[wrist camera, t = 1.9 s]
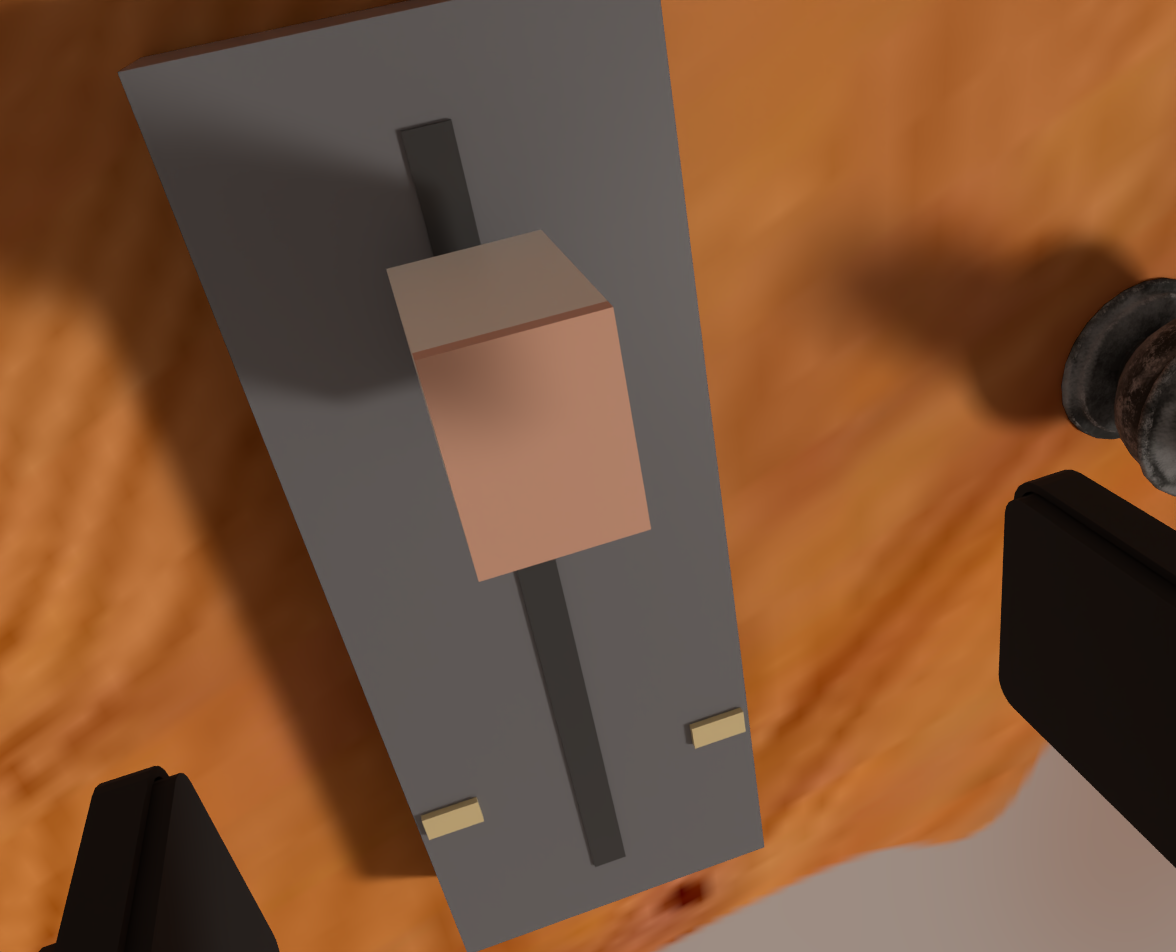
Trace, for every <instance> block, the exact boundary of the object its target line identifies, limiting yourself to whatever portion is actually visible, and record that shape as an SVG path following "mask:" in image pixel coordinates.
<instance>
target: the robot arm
mask: <svg viewBox="0 0 1176 952" xmlns="http://www.w3.org/2000/svg"><path fill="white" fill-rule="evenodd" d="M999 682H1000V685H1001V689H1002V691H1003V693H1004V695H1005V697H1006V699H1007V700H1008V702H1009V703H1010V704H1011V706H1012V707H1013V708H1014V709H1015V710H1016V711H1017V712H1018V713H1019V714H1020V715H1021V716H1022V717H1023V718H1024V719H1025V720H1026V721H1027V722H1028V723H1029V724H1030V725H1031V726H1032V727H1033V728H1034V729H1035V730H1036V731H1037V732H1038V733H1039V734H1040V735H1041V736H1042V737H1043V738H1044V739H1045V740H1047V741H1048V742H1049V743H1050V744H1051V745H1052V746H1053V747H1054V748H1055V749H1056V750H1057V751H1058V752H1059V753H1060V754H1061V755H1062V756H1063V757H1064V758H1065V759H1066V760H1067V761H1068V762H1069V763H1070V764H1071V765H1072V766H1073V767H1074V768H1075V769H1076V770H1077V771H1078V772H1079V773H1080V774H1081V775H1082V776H1083V777H1084V778H1085V779H1086V780H1087V781H1088V782H1089V783H1090V784H1091V785H1092V786H1093V787H1094V788H1095V789H1096V790H1097V791H1099V793H1100V794H1101V795H1102V796H1103V797H1104V798H1105V799H1106V800H1107V801H1108V802H1109V803H1111V805H1113V806H1114V807H1115V808H1116V809H1117V810H1118V811H1119V812H1120V813H1121V814H1122V815H1123V816H1124V817H1125V818H1126V819H1127V820H1128V821H1129V822H1130V823H1131V824H1132V825H1133V826H1134V827H1135V828H1136V829H1137V830H1138V831H1139V832H1140V833H1141V834H1142V835H1143V836H1144V837H1145V838H1146V839H1147V840H1148V841H1149V842H1150V843H1151V844H1152V845H1153V846H1154V847H1155V848H1156V849H1157V850H1158V851H1159V852H1160V853H1161V854H1162V855H1163V856H1164V857H1165V858H1166V859H1167V860H1168V861H1170V863H1171V864H1172V865H1173V866H1174V867H1175V868H1176V531H1175V530H1174V529H1172V528H1170V527H1169V526H1167V525H1165V524H1164V523H1162V522H1160V521H1159V520H1157V519H1155V518H1154V517H1152V516H1150V515H1149V514H1147V513H1146V512H1144V511H1142V510H1141V509H1139V508H1137V507H1136V506H1134V505H1132V504H1131V503H1129V502H1127V501H1126V500H1124V499H1122V498H1121V497H1119V496H1117V495H1116V494H1114V493H1112V492H1111V491H1109V490H1108V489H1106V488H1104V487H1103V486H1101V485H1099V484H1098V483H1096V482H1094V481H1093V480H1091V479H1089V478H1088V477H1086V476H1084V475H1083V474H1081V473H1079V472H1076V471H1074V470H1063V471H1060V472H1057V473H1054V474H1050V475H1047V476H1044V477H1041V478H1038V479H1035V480H1032V481H1029V482H1026V483H1024V484H1022V485H1020V486H1019V487H1018V489H1017V490H1016V492H1015V496H1014V500H1012V501H1010V502H1009V503H1008V505H1007V506H1006V510H1005V524H1004V550H1003V577H1002V603H1001V629H1000V655H999ZM39 952H279V948H278V945H277V942H276V939H275V937H274V935H273V933H272V931H271V929H270V927H269V925H268V924H267V922H266V920H265V918H264V916H263V914H262V913H261V911H260V909H259V907H258V905H257V903H256V901H255V900H254V898H253V896H252V894H251V892H250V890H249V889H248V887H247V885H246V883H245V881H244V879H243V877H242V876H241V874H240V872H239V870H238V868H237V866H236V865H235V863H234V861H233V859H232V857H231V855H230V853H229V852H228V850H227V848H226V846H225V844H224V842H223V841H222V839H221V837H220V835H219V833H218V831H217V830H216V828H215V826H214V824H213V822H212V820H211V818H210V817H209V815H208V813H207V811H206V809H205V807H204V806H203V804H202V802H201V800H200V798H199V796H198V794H197V793H196V791H195V789H194V787H193V785H192V783H191V782H190V780H189V779H188V777H187V776H186V775H185V774H184V773H179V774H176V775H172V776H168V774H167V773H166V771H165V770H164V769H163V768H161V767H160V766H153V767H150V768H147V769H144V770H141V771H138V772H135V773H132V774H128V775H125V776H122V777H119V778H116V779H113V780H110V781H107V782H104V783H101V784H99V785H98V786H97V787H96V788H95V790H94V793H93V795H92V798H91V803H90V807H89V811H88V815H87V819H86V823H85V827H84V831H83V835H82V839H81V843H80V847H79V851H78V856H77V860H76V864H75V868H74V872H73V876H72V880H71V884H70V888H69V892H68V896H67V900H66V905H65V909H64V913H63V917H62V921H61V925H60V929H59V933H58V937H57V941H56V943H54V944H51V945H49V946H46V947H43V948H42V949H41V950H40V951H39Z"/></svg>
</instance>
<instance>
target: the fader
mask: <svg viewBox="0 0 1176 952" xmlns="http://www.w3.org/2000/svg"><path fill="white" fill-rule="evenodd" d="M386 270H387V274H388V277H389V280H390V284H391V287H392V291H393V294H394V298H395V301H396V304H397V308H398V311H399V315H400V318H401V321H402V325H403V328H404V332H405V335H406V339H407V342H408V345H409V349H410V352H411V356H412V359H413V363H414V366H415V369H416V373H417V376H418V380H419V383H420V386H421V390H422V393H423V397H424V400H425V404H426V407H427V410H428V414H429V417H430V421H431V424H432V428H433V431H434V434H435V438H436V441H437V445H438V448H439V451H440V455H441V458H442V461H443V465H444V468H445V471H446V475H447V478H448V481H449V485H450V488H451V491H452V495H453V498H454V501H455V505H456V508H457V511H458V514H459V518H460V521H461V524H462V528H463V531H464V534H465V538H466V541H467V544H468V548H469V551H470V554H471V558H472V561H473V564H474V567H475V571H476V574H477V577H478V581H479V582H481V581H484V580H487V579H490V578H494V577H497V576H500V575H504V574H507V573H510V572H513V571H517V570H520V569H523V568H526V567H530V566H533V565H536V564H539V563H543V562H546V561H549V560H553V559H556V558H559V557H562V556H566V555H569V554H572V553H575V552H579V551H582V550H585V549H589V548H592V547H595V546H598V545H602V544H605V543H608V542H611V541H615V540H618V539H621V538H624V537H628V536H631V535H634V534H638V533H641V532H644V531H647V530H651V525H650V519H649V513H648V508H647V502H646V496H645V490H644V484H643V478H642V472H641V466H640V461H639V455H638V449H637V443H636V437H635V431H634V425H633V420H632V414H631V408H630V402H629V396H628V390H627V384H626V378H625V373H624V367H623V361H622V355H621V349H620V343H619V337H618V332H617V326H616V320H615V314H614V308H613V306H612V305H611V304H610V303H609V302H608V301H607V300H606V299H605V298H604V296H603V295H602V294H601V293H600V292H599V291H598V290H597V289H596V288H595V287H594V286H593V285H592V284H591V283H590V281H589V280H588V279H587V278H586V277H585V276H584V275H583V274H582V273H581V272H580V271H579V270H578V269H577V268H576V266H575V265H574V264H573V263H572V262H571V261H570V260H569V259H568V258H567V257H566V256H565V255H564V254H563V253H562V251H561V250H560V249H559V248H558V247H557V246H556V245H555V244H554V243H553V242H552V241H551V240H550V239H549V237H548V236H547V235H546V234H545V233H544V232H543V231H542V230H538V231H534V232H530V233H526V234H522V235H518V236H514V237H510V238H506V239H502V240H498V241H494V242H490V243H486V244H483V245H479V246H475V247H471V248H467V249H463V250H459V251H455V252H451V253H447V254H443V255H439V256H435V257H431V258H427V259H423V260H420V261H416V262H412V263H408V264H404V265H400V266H396V267H392V268H388V269H386Z"/></svg>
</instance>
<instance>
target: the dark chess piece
mask: <svg viewBox="0 0 1176 952" xmlns="http://www.w3.org/2000/svg"><path fill="white" fill-rule="evenodd" d="M1062 399H1063V406H1064V408H1065V411H1066V413H1067V415H1068V418H1069V420H1070V421H1071V422H1072V423H1073V424H1074V425H1075V426H1076V427H1077V428H1078V429H1079V430H1080V431H1082V432H1084V433H1086V434H1088V435H1090V436H1093V437H1095V438H1102V439H1117V438H1121V440H1122V441H1123V443H1124V445H1125V446H1126V448H1127V449H1128V451H1129V453H1130V454H1131V455H1132V457H1133V458H1134V459H1135V460H1136V461H1137V462H1138V463H1139V464H1140V466H1141V469H1142V472H1143V475H1144V476H1145V477H1146V478H1147V479H1148V480H1149V481H1150V482H1151V483H1152V485H1153V486H1154V487H1155V488H1157V489H1158V490H1161V491H1163V492H1165V493H1168V494H1170V495H1172V496H1176V280H1174V279H1167V278H1162V279H1156V280H1150V281H1145V282H1142V283H1140V284H1138V285H1136V286H1133V287H1131V288H1129V289H1127V290H1124V291H1123V292H1122V293H1120V294H1119V295H1117V296H1116V297H1115V298H1113V299H1112V300H1111V301H1109V302H1108V303H1107V304H1105V305H1104V306H1103V307H1102V308H1101V309H1100V310H1099V311H1098V312H1097V314H1096V315H1095V316H1094V317H1093V318H1092V319H1091V320H1090V321H1089V322H1088V323H1087V325H1086V326H1085V328H1084V329H1083V331H1082V332H1081V334H1080V335H1079V337H1078V338H1077V340H1076V341H1075V343H1074V345H1073V348H1072V350H1071V352H1070V355H1069V357H1068V360H1067V362H1066V364H1065V369H1064V375H1063V380H1062Z"/></svg>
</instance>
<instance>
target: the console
mask: <svg viewBox="0 0 1176 952" xmlns="http://www.w3.org/2000/svg"><path fill="white" fill-rule="evenodd" d="M118 75H119V77H120V80H121V82H122V85H123V87H124V90H125V92H126V95H127V98H128V100H129V103H130V105H131V108H132V110H133V113H134V115H135V118H136V120H137V123H138V125H139V128H140V130H141V133H142V135H143V138H144V140H145V143H146V145H147V148H148V150H149V153H150V155H151V158H152V160H153V163H154V165H155V168H156V170H157V173H158V175H159V178H160V181H161V183H162V186H163V188H164V191H165V193H166V196H167V198H168V201H169V203H170V206H171V208H172V211H173V213H174V216H175V218H176V221H177V223H178V226H179V228H180V231H181V233H182V236H183V238H184V241H185V243H186V246H187V248H188V251H189V253H190V256H191V258H192V261H193V264H194V266H195V269H196V271H197V274H198V276H199V279H200V281H201V284H202V286H203V289H204V291H205V294H206V296H207V299H208V301H209V304H210V306H211V309H212V311H213V314H214V316H215V319H216V321H217V324H218V326H219V329H220V331H221V334H222V336H223V339H224V342H225V344H226V347H227V349H228V352H229V354H230V357H231V359H232V362H233V364H234V367H235V369H236V372H237V374H238V377H239V379H240V382H241V384H242V387H243V389H244V392H245V394H246V397H247V399H248V402H249V404H250V407H251V409H252V412H253V414H254V417H255V419H256V422H257V425H258V427H259V430H260V432H261V435H262V437H263V440H264V442H265V445H266V447H267V450H268V452H269V455H270V457H271V460H272V462H273V465H274V467H275V470H276V472H277V475H278V477H279V480H280V482H281V485H282V487H283V490H284V492H285V495H286V497H287V500H288V503H289V505H290V508H291V510H292V513H293V515H294V518H295V520H296V523H297V525H298V528H299V530H300V533H301V535H302V538H303V540H304V543H305V545H306V548H307V550H308V553H309V555H310V558H311V560H312V563H313V565H314V568H315V570H316V573H317V575H318V578H319V580H320V583H321V586H322V588H323V591H324V593H325V596H326V598H327V601H328V603H329V606H330V608H331V611H332V613H333V616H334V618H335V621H336V623H337V626H338V628H339V631H340V633H341V636H342V638H343V641H344V643H345V646H346V648H347V651H348V653H349V656H350V658H351V661H352V663H353V666H354V669H355V671H356V674H357V676H358V679H359V681H360V684H361V686H362V689H363V691H364V694H365V696H366V699H367V701H368V704H369V706H370V709H371V711H372V714H373V716H374V719H375V721H376V724H377V726H378V729H379V731H380V734H381V736H382V739H383V741H384V744H385V747H386V749H387V752H388V754H389V757H390V759H391V762H392V764H393V767H394V769H395V772H396V774H397V777H398V779H399V782H400V784H401V787H402V789H403V792H404V794H405V797H406V799H407V802H408V804H409V807H410V809H411V812H412V814H413V817H414V819H415V822H416V824H417V827H418V830H419V832H420V835H421V837H422V840H423V842H424V845H425V847H426V850H427V852H428V855H429V857H430V860H431V862H432V865H433V867H434V870H435V872H436V875H437V877H438V880H439V882H440V885H441V887H442V890H443V892H444V895H445V897H446V900H447V902H448V905H449V908H450V910H451V913H452V915H453V918H454V920H455V923H456V925H457V928H458V930H459V933H460V935H461V938H462V940H463V943H464V945H465V948H466V950H467V952H477V951H479V950H482V949H485V948H488V947H490V946H493V945H496V944H499V943H502V942H504V941H507V940H510V939H513V938H515V937H518V936H521V935H524V934H526V933H529V932H532V931H535V930H537V929H540V928H543V927H546V926H548V925H551V924H554V923H557V922H559V921H562V920H565V919H568V918H570V917H573V916H576V915H579V914H581V913H584V912H587V911H590V910H592V909H595V908H598V907H601V906H603V905H606V904H609V903H612V902H614V901H617V900H620V899H623V898H625V897H628V896H631V895H634V894H637V893H639V892H642V891H645V890H648V889H650V888H653V887H656V886H659V885H661V884H664V883H667V882H670V881H672V880H675V879H678V878H681V877H683V876H686V875H689V874H692V873H694V872H697V871H700V870H703V869H705V868H708V867H711V866H714V865H716V864H719V863H722V862H725V861H727V860H730V859H733V858H736V857H738V856H741V855H744V854H747V853H749V852H752V851H755V850H758V849H760V848H763V847H764V841H763V833H762V824H761V816H760V808H759V800H758V792H757V784H756V775H755V767H754V759H753V751H752V743H751V735H750V727H749V718H748V710H747V702H746V694H745V686H744V678H743V669H742V661H741V653H740V645H739V637H738V629H737V621H736V612H735V604H734V596H733V588H732V580H731V572H730V564H729V555H728V547H727V539H726V531H725V523H724V515H723V506H722V498H721V490H720V482H719V474H718V466H717V458H716V449H715V441H714V433H713V425H712V417H711V409H710V400H709V392H708V384H707V376H706V368H705V360H704V352H703V343H702V335H701V327H700V319H699V311H698V303H697V295H696V286H695V278H694V270H693V262H692V254H691V246H690V237H689V229H688V221H687V213H686V205H685V197H684V189H683V180H682V172H681V164H680V156H679V148H678V140H677V131H676V123H675V115H674V107H673V99H672V91H671V83H670V74H669V66H668V58H667V50H666V42H665V34H664V25H663V17H662V9H661V1H660V0H408V1H404V2H399V3H394V4H390V5H385V6H380V7H376V8H371V9H366V10H362V11H357V12H352V13H348V14H343V15H338V16H333V17H329V18H324V19H319V20H315V21H310V22H305V23H301V24H296V25H291V26H287V27H282V28H277V29H273V30H268V31H263V32H259V33H254V34H249V35H245V36H240V37H235V38H231V39H226V40H221V41H217V42H212V43H207V44H202V45H198V46H193V47H188V48H184V49H179V50H174V51H170V52H165V53H160V54H156V55H151V56H146V57H142V58H139V59H138V60H136V61H135V62H133V63H131V64H130V65H128V66H127V67H125V68H124V69H122V70H120V71H119V72H118ZM538 230H542V231H543V232H544V233H545V234H546V235H547V236H548V237H549V239H550V240H551V241H552V242H553V243H554V244H555V245H556V246H557V247H558V248H559V249H560V250H561V251H562V253H563V254H564V255H565V256H566V257H567V258H568V259H569V260H570V261H571V262H572V263H573V264H574V265H575V266H576V268H577V269H578V270H579V271H580V272H581V273H582V274H583V275H584V276H585V277H586V278H587V279H588V280H589V281H590V283H591V284H592V285H593V286H594V287H595V288H596V289H597V290H598V291H599V292H600V293H601V294H602V295H603V296H604V298H605V299H606V300H607V301H608V302H609V303H610V304H611V305H612V306H613V308H614V314H615V320H616V326H617V332H618V337H619V343H620V349H621V355H622V361H623V367H624V373H625V378H626V384H627V390H628V396H629V402H630V408H631V414H632V420H633V425H634V431H635V437H636V443H637V449H638V455H639V461H640V466H641V472H642V478H643V484H644V490H645V496H646V502H647V508H648V513H649V519H650V525H651V530H647V531H644V532H641V533H638V534H634V535H631V536H628V537H624V538H621V539H618V540H615V541H611V542H608V543H605V544H602V545H598V546H595V547H592V548H589V549H585V550H582V551H579V552H575V553H572V554H569V555H566V556H562V557H559V558H556V559H553V560H549V561H546V562H543V563H539V564H536V565H533V566H530V567H526V568H523V569H520V570H517V571H513V572H510V573H507V574H504V575H500V576H497V577H494V578H490V579H487V580H484V581H481V582H479V581H478V577H477V574H476V571H475V567H474V564H473V561H472V558H471V554H470V551H469V548H468V544H467V541H466V538H465V534H464V531H463V528H462V524H461V521H460V518H459V514H458V511H457V508H456V505H455V501H454V498H453V495H452V491H451V488H450V485H449V481H448V478H447V475H446V471H445V468H444V465H443V461H442V458H441V455H440V451H439V448H438V445H437V441H436V438H435V434H434V431H433V428H432V424H431V421H430V417H429V414H428V410H427V407H426V404H425V400H424V397H423V393H422V390H421V386H420V383H419V380H418V376H417V373H416V369H415V366H414V363H413V359H412V356H411V352H410V349H409V345H408V342H407V339H406V335H405V332H404V328H403V325H402V321H401V318H400V315H399V311H398V308H397V304H396V301H395V298H394V294H393V291H392V287H391V284H390V280H389V277H388V274H387V270H386V269H388V268H392V267H396V266H400V265H404V264H408V263H412V262H416V261H420V260H423V259H427V258H431V257H435V256H439V255H443V254H447V253H451V252H455V251H459V250H463V249H467V248H471V247H475V246H479V245H483V244H486V243H490V242H494V241H498V240H502V239H506V238H510V237H514V236H518V235H522V234H526V233H530V232H534V231H538Z"/></svg>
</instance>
